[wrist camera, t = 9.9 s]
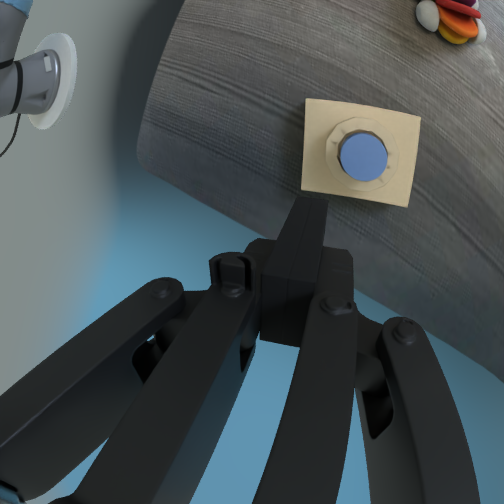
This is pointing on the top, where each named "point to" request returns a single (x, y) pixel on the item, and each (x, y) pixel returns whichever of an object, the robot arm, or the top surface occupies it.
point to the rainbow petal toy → (453, 20)
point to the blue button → (363, 156)
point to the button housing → (342, 126)
